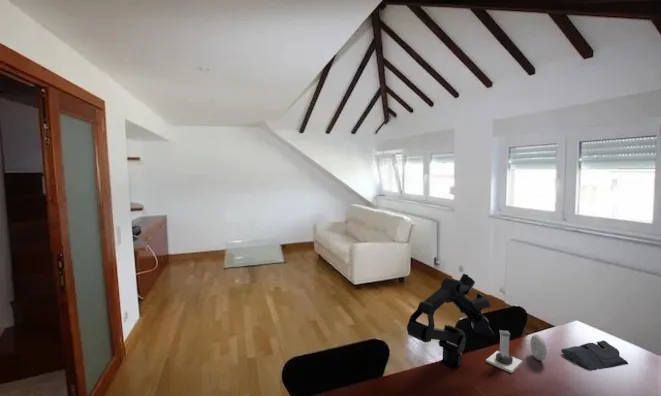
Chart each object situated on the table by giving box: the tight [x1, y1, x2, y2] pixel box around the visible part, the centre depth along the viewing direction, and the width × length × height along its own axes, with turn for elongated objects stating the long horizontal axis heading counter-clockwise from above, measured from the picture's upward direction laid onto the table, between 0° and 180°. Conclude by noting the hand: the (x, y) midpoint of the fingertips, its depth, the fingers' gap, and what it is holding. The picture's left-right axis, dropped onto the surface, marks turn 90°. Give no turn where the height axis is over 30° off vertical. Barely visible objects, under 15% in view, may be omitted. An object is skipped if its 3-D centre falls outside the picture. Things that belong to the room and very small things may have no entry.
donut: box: [529, 334, 548, 361], centre depth 136 cm, size 10×3×10 cm, turn 168°
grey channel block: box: [496, 329, 513, 365], centre depth 134 cm, size 6×6×12 cm
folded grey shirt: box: [560, 340, 629, 372], centre depth 137 cm, size 15×22×5 cm
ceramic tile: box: [485, 350, 523, 374], centre depth 135 cm, size 10×10×1 cm
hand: (491, 330), depth 134 cm, fingers open, 9 cm apart
